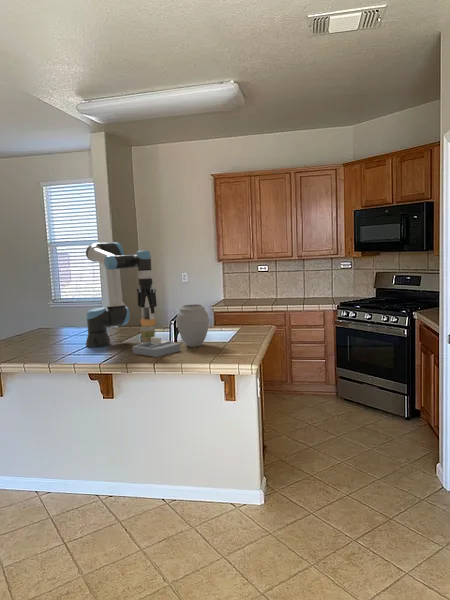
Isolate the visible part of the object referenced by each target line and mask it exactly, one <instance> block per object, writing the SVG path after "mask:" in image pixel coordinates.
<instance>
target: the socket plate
mask: <svg viewBox="0 0 450 600" xmlns="http://www.w3.org/2000/svg"><path fill="white" fill-rule="evenodd" d="M167 341H168V342H164V343H160V344H151V342H147V343H143V342H142V343H140V344H139V343H137V345H133V346H132V354H135V355H141V356H146V357H147V356H149V357H154V358H158V357H162V356H165V355H170V354H173V353H177V352H180V351H181V344H180V343H175V342H172V340H167Z"/></svg>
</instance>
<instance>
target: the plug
mask: <svg viewBox="0 0 450 600" xmlns="http://www.w3.org/2000/svg"><path fill="white" fill-rule="evenodd" d="M149 307H150V306H145V307H144V315H145V319H142V318H140V322H141V326H143V328H145V327H146V326H148V327H149V328H151V327H152V325H155V326H156V325H157V322H156V321H157V319H156V317H154V319H152V320H150V315H149Z"/></svg>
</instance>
